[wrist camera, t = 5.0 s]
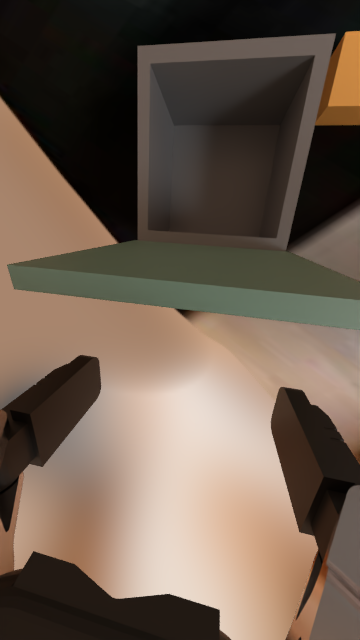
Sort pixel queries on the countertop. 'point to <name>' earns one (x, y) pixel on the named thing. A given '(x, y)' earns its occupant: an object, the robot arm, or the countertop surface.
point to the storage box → (226, 138)
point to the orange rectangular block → (342, 84)
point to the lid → (200, 281)
